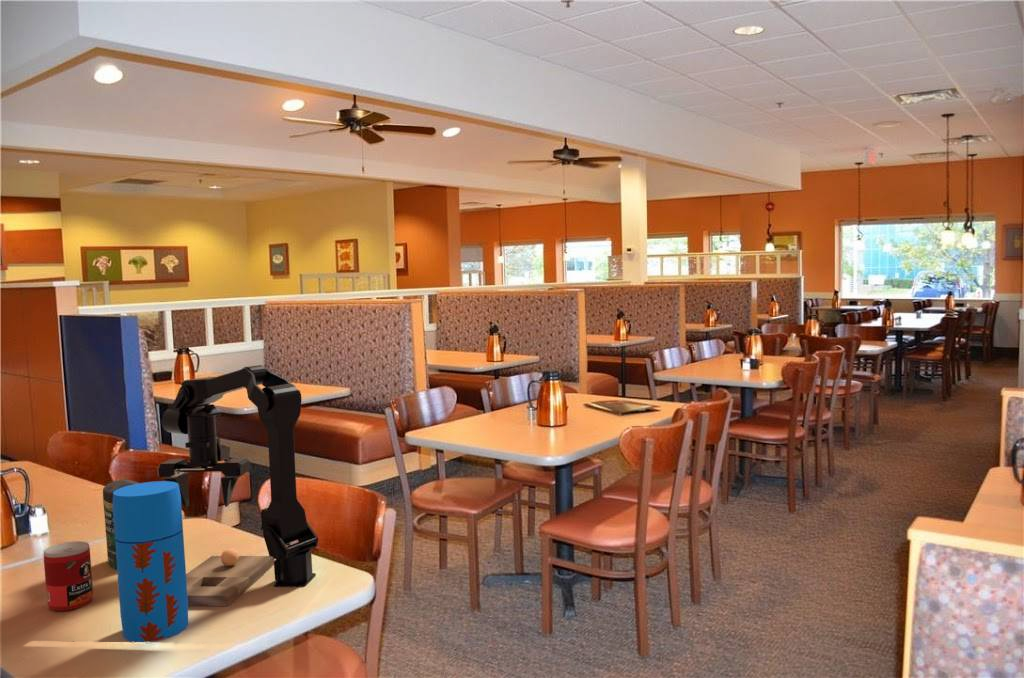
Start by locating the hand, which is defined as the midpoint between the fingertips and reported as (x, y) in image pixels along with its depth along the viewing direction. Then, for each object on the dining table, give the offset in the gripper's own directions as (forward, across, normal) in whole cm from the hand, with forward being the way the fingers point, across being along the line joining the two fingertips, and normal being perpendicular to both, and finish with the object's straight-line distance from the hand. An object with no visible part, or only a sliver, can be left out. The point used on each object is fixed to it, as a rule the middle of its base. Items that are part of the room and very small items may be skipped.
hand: (206, 506), depth 176 cm
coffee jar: (+12, +17, +3) cm, 21 cm away
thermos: (+12, -8, +35) cm, 38 cm away
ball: (+8, -9, +9) cm, 15 cm away
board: (+12, -9, +14) cm, 21 cm away
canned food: (+12, +16, +24) cm, 31 cm away
